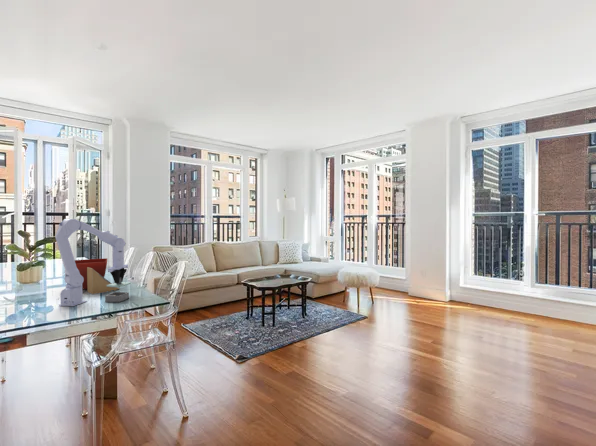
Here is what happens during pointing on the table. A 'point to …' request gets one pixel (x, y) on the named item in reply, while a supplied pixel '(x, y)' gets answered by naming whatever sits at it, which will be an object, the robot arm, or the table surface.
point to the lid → (119, 284)
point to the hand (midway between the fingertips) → (118, 282)
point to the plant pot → (95, 264)
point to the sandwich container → (97, 282)
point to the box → (117, 297)
